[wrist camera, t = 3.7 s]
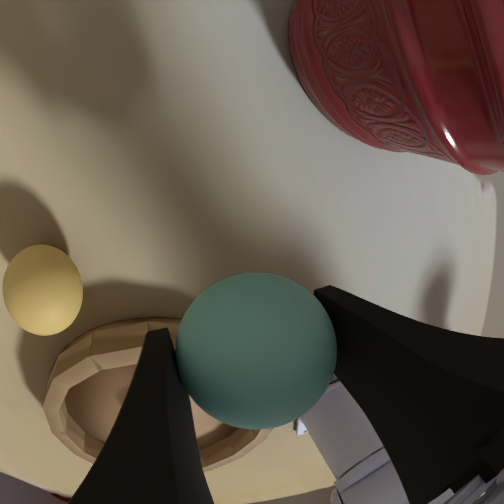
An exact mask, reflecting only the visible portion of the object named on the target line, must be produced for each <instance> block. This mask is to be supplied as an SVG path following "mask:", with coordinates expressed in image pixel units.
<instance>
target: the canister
mask: <svg viewBox="0 0 504 504" xmlns="http://www.w3.org/2000/svg"><path fill="white" fill-rule="evenodd" d="M288 42H289V49H290V53H291V58H292V61H293V65H294V68H295V70H296V73H297V75H298V77H299V80H300V82H301V84H302V86H303V88H304V89H305V91H306V93H307V94H308V96H309V98H310V99H311V100H312V102H313V103H314V105H315V106H316V107H317V108H318V110H319V111H320V112H321V113H322V114H323V115H324V116H325V117H326V118H327V119H328V120H329V121H330V122H331V123H332V124H333V125H335V126H336V127H337V128H339V129H340V130H341V131H343V132H344V133H346V134H348V135H350V136H352V137H354V138H356V139H358V140H360V141H361V142H363V143H365V144H368V145H370V146H373V147H375V148H379V149H384V150H388V151H392V152H411V153H415V154H420V155H424V156H428V157H432V158H436V159H439V160H443V161H447V162H450V163H454V164H457V165H460V166H461V167H463V168H464V169H466V170H467V171H469V172H471V173H474V174H477V175H491V174H494V173H496V172H498V171H503V172H504V0H295V2H294V4H293V6H292V9H291V12H290V17H289V23H288Z"/></svg>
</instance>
